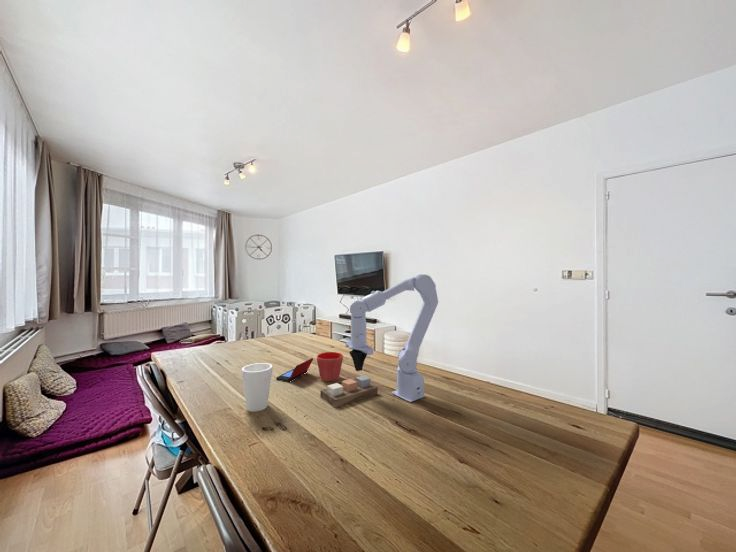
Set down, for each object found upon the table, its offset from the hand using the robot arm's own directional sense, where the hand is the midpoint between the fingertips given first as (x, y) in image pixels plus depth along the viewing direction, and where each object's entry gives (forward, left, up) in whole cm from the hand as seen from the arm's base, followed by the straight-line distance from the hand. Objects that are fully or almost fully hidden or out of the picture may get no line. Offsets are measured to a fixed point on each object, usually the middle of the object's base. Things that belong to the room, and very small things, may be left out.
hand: (358, 370), depth 105 cm
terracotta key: (0, +4, -6) cm, 8 cm away
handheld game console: (+30, +12, -9) cm, 33 cm away
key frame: (0, +4, -8) cm, 9 cm away
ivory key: (0, +10, -7) cm, 12 cm away
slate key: (0, -2, -6) cm, 7 cm away
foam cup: (+11, +33, -9) cm, 36 cm away
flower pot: (+19, +1, -9) cm, 21 cm away
